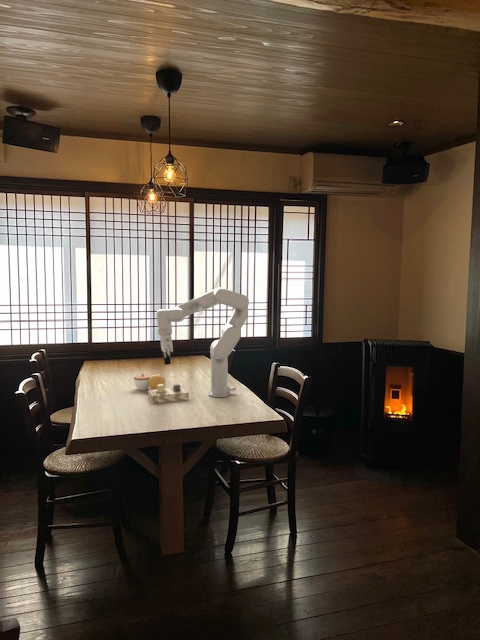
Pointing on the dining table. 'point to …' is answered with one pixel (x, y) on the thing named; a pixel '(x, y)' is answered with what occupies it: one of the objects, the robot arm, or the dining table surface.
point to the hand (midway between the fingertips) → (167, 364)
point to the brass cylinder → (160, 388)
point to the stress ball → (156, 381)
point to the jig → (169, 394)
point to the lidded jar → (142, 381)
